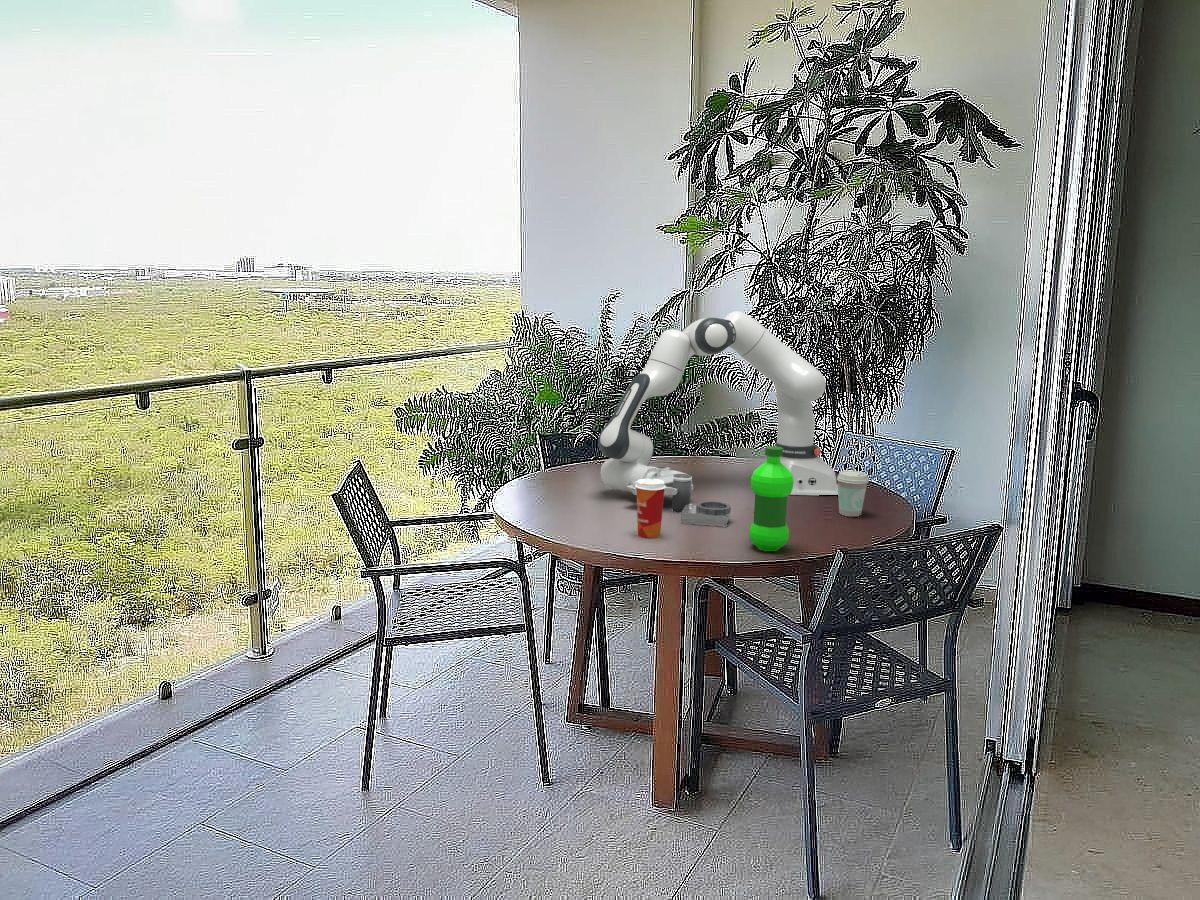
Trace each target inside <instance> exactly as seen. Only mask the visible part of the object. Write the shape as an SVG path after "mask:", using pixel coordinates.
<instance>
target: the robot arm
mask: <svg viewBox="0 0 1200 900" xmlns="http://www.w3.org/2000/svg"><path fill="white" fill-rule="evenodd" d="M727 348H731V349H732V350H733V351H734V352H736V353H737V355H739V356H740V357H741V358H743V359H744V360H745V361H746V362H747V363H749V365H751V366H752V367H753V368H754V369H755V370H757V372H759V373H760V374H762V375H764V377H766V378H767V379H768V380H770V381H771V382H772V383H773V384H774V385H775V395H776V396H775V397H776V407H777V433H776V434H777V435H776V437H777V438H776V442H775V445H774V446H776V447H782V448H783V456H781V457H780V462H781V463H782V464H783V465H784V466H785V467H786V468H787V469H788V470H789V471H790V472H791V473H792V475H793V478H794V484H793V489H792V492H791V493H790V494H789V495H793V496H794V495H798V496H819V495H838V482H837V476H836V475H837V474H836V472H835V470H834V469H833V467H831V466H830V465H829V464H827V463H826V462H825V461H824V459H822V458H821V457H820V455H822V449H820V447H819V446H818V445H815V444H814V438H815V426H816V423H815V422H816V419H815V415H814V413H813V405H812V402H813V401H816V400H818V399H820V398H821V397H822V396H823V394H824V393H825V390H826V385H827V384H826V380H825V379H826V378H825V377H824V375H823V374H822V373H821V371H820V370H818V369H817V367H815V366H814V365H813V364H811V363H810V362H808V360H806V359H804V358H803V357H802V356H801V355H799V354H798V353H797V352H796V351H794V350H792V348H790V347H789V346H787V345H786V344H785V343H784V342H782V341H781V340H780V339H779V338H778V337H776V336H775V334H773V333H772V332H771V331H769V330H768V329H767V328H766V327H765V326H763V325H762V324H761V323H760V322H758V320H755V318H753V317H752V316H750V315H749V314H747V313H744V312H742V311H739V310H734V311H731V312H730V313H728V314H727V315H725V316H724V317H723V318H719V317H707V318H706V317H705V318H699V319H697V320H695V321H692V322H689V324H687V325H686V326H685V327H684V328H682V329H681V330H678V329H673V328H672V329H667V330H664V331H663V332H661V334H660V336H659V337H658V339H657V341H656V343H655V345H654V346H653V348H652V350H651V352H650V355H649V358H648V360H647V362H646V364H645V366H644V368H643V370H642V371H641V372H640V373H639V374H637V375H636V376H635V377H634V378H633V379H632V380H631V382H630V383H629V385H628V386H627V388H626V390H625V392H624V394H623V395H622V398H621V399H620V401H619V402H618V405H617V407H616V409H615V410H614V412H613V414H612V415H611V418H610V420H609V421H608V422H607V423H606V424H605V425H604V427H603V428H602V430H601V431H600V434H599V438H598V446H599V450H600V451H601V453H602V455H603V456H605V457H606V458H608V459H607V460H605V461H604V462H603V463H602V464H601V468H600V477H601V480H602V482H603V483H604V484H605V485H606V486H608V487H609V488H611V489H614V490H617V491H621V492H623V493H631V494H633V495H634V496H637V488H636V487H635V485H636V484H637V481H638V480H640V479H659V480H662V481H664V484H665V486H666V488H665V489H664V495H671V496H673V495H677V494H679V492H678V491H679V489H678V488H675V487H673V475H674V474H687V473H685V472H682V471H679V470H672V469H671V468H670V467H667V466H652V465H651V466H650V463H651V460H652V459H653V458H652V457H653V455H654V442H653V441H652V439H651V438H650V437H649V436H648V435H646V434H643V433H641V432H639V431H636V430H633V429H631V426H632V423H633V422H634V420H635V418H636V416H637V414H638V412H639V411H640V408H641V406H642V404H643V403H644V402H645V401H647V399H650V398H653V397H660V396H661V397H663V396H667V395H669V394H671V393H672V392H674V391H675V390H676V389H677V387H678V386H679V384H680V382H681V380H682V377H683V374H684V372H685V369H686V366H687V364H688V362H689V360H690V359H691V357H709V356H712V355H717V354H720V353H722V352H724V350H726V349H727ZM692 491H694V485H693V480H692V481H691V492H692Z"/></svg>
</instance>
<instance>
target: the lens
mask: <svg viewBox="0 0 1200 900" xmlns="http://www.w3.org/2000/svg"><path fill="white" fill-rule="evenodd" d="M691 481H692V482H693V476H692V475H691V474H688V473H686V474H674V475H673V487H675V488H678V489H679V491H678V492H679V494H677V495H672V506H671V507H672V508H671V509H672V510H673V511H672V510H671V511H672V512H674V511H675V513H679V512H682V510H683V509H684V507H685V506H686V504H687V505H688V504H689V503H691V501H692V500H691V499H692V498H691V497H692V491H691Z"/></svg>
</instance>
